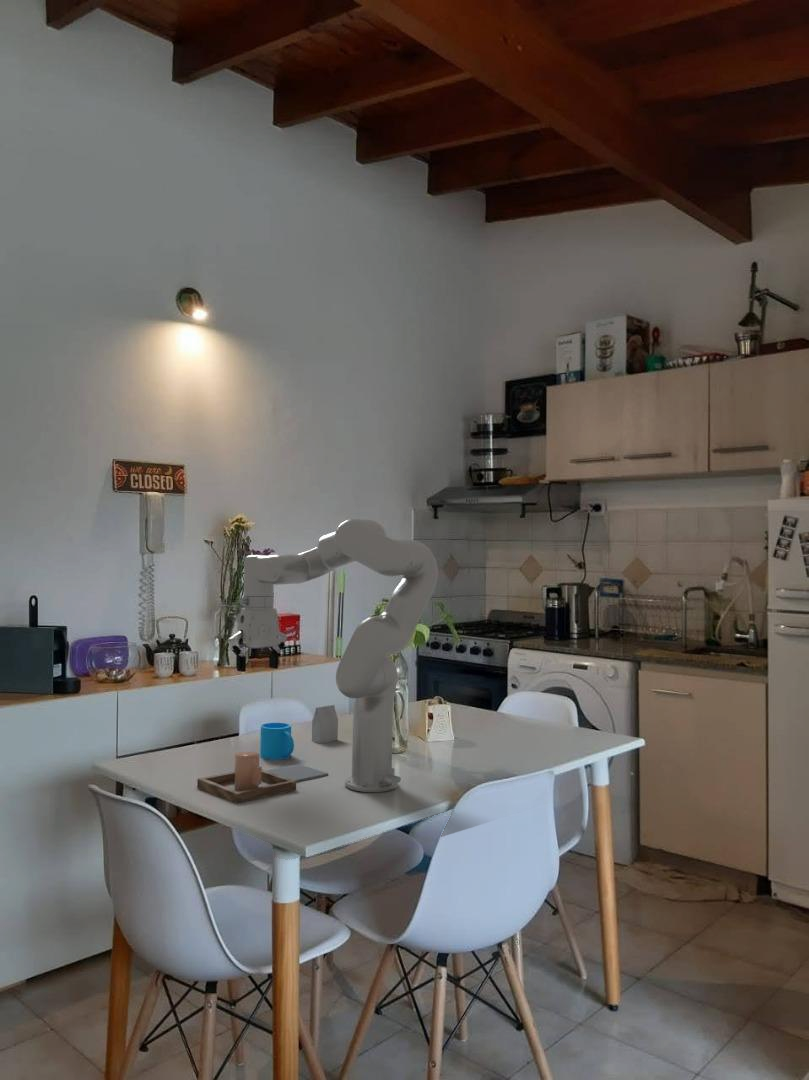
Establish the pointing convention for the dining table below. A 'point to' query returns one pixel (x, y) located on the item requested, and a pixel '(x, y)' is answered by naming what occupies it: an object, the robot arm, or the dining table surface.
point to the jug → (247, 771)
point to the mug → (276, 741)
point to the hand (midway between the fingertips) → (257, 669)
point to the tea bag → (325, 724)
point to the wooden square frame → (278, 786)
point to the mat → (298, 772)
